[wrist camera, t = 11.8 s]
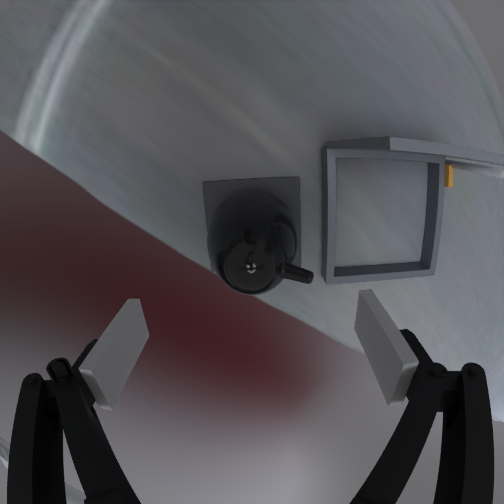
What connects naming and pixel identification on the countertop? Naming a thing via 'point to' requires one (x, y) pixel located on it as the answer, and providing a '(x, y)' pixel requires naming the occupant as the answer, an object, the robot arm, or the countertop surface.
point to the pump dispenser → (254, 243)
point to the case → (437, 179)
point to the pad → (277, 186)
